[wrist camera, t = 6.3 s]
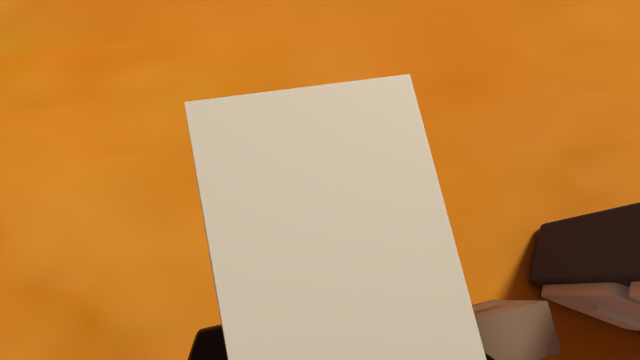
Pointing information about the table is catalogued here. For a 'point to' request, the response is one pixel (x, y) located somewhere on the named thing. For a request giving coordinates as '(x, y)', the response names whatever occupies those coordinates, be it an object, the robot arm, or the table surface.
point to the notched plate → (329, 226)
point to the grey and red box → (593, 264)
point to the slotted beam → (517, 329)
